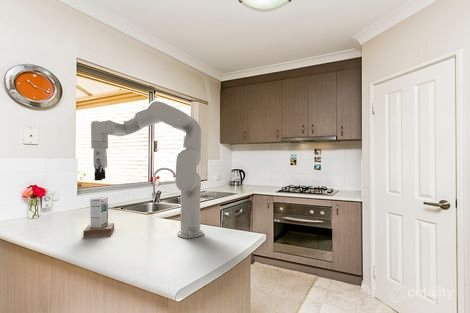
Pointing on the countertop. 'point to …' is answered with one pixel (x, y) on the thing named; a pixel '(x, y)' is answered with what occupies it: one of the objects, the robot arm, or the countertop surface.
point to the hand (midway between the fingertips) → (100, 179)
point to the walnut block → (98, 231)
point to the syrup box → (99, 212)
